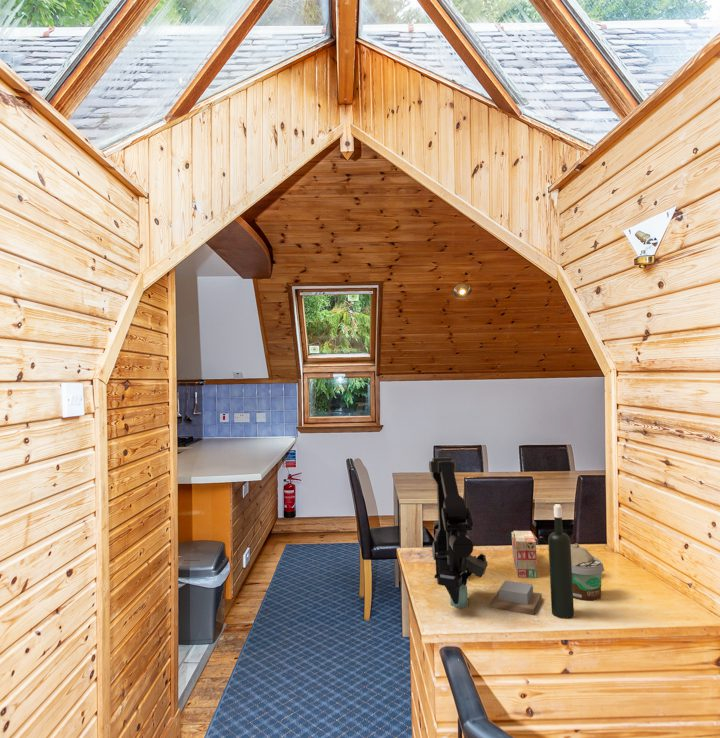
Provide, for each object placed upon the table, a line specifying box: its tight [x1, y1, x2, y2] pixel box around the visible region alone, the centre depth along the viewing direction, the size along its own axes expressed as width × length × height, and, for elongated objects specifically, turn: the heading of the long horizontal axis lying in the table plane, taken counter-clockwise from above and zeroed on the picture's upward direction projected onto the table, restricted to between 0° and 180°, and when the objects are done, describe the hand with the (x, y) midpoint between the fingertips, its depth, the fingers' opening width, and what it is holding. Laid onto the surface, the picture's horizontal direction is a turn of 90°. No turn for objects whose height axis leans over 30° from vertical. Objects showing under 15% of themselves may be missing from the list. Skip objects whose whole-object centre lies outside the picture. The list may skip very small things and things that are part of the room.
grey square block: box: [498, 579, 534, 605], centre depth 154 cm, size 8×8×3 cm
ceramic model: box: [571, 542, 595, 566], centre depth 175 cm, size 14×11×10 cm
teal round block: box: [449, 584, 469, 608], centre depth 155 cm, size 5×5×5 cm
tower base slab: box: [490, 589, 543, 616], centre depth 153 cm, size 12×12×2 cm
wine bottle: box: [547, 503, 575, 619], centre depth 146 cm, size 6×6×30 cm
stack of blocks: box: [510, 530, 538, 579], centre depth 184 cm, size 21×6×12 cm, turn 169°
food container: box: [572, 556, 605, 602], centre depth 156 cm, size 12×6×10 cm, turn 117°
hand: (459, 600), depth 154 cm, fingers closed on teal round block, 5 cm apart
